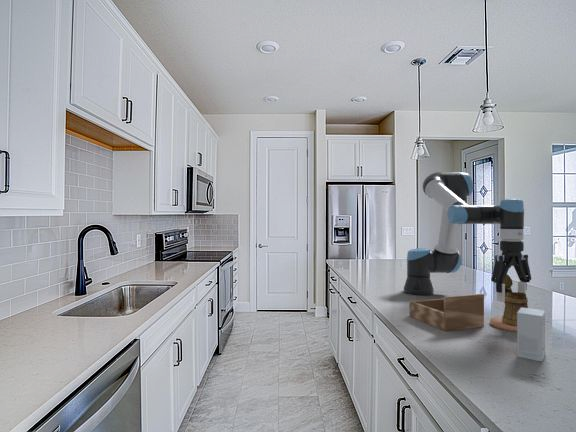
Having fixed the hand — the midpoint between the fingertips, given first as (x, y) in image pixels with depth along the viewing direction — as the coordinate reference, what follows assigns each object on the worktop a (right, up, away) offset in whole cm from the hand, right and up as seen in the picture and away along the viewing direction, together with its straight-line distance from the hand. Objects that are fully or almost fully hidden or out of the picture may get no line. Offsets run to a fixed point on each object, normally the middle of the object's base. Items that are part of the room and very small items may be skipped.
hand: (511, 300), depth 136 cm
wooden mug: (+1, -8, 0) cm, 8 cm away
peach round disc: (0, -10, 0) cm, 10 cm away
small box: (-12, -10, -28) cm, 32 cm away
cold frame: (-22, -10, +6) cm, 25 cm away
